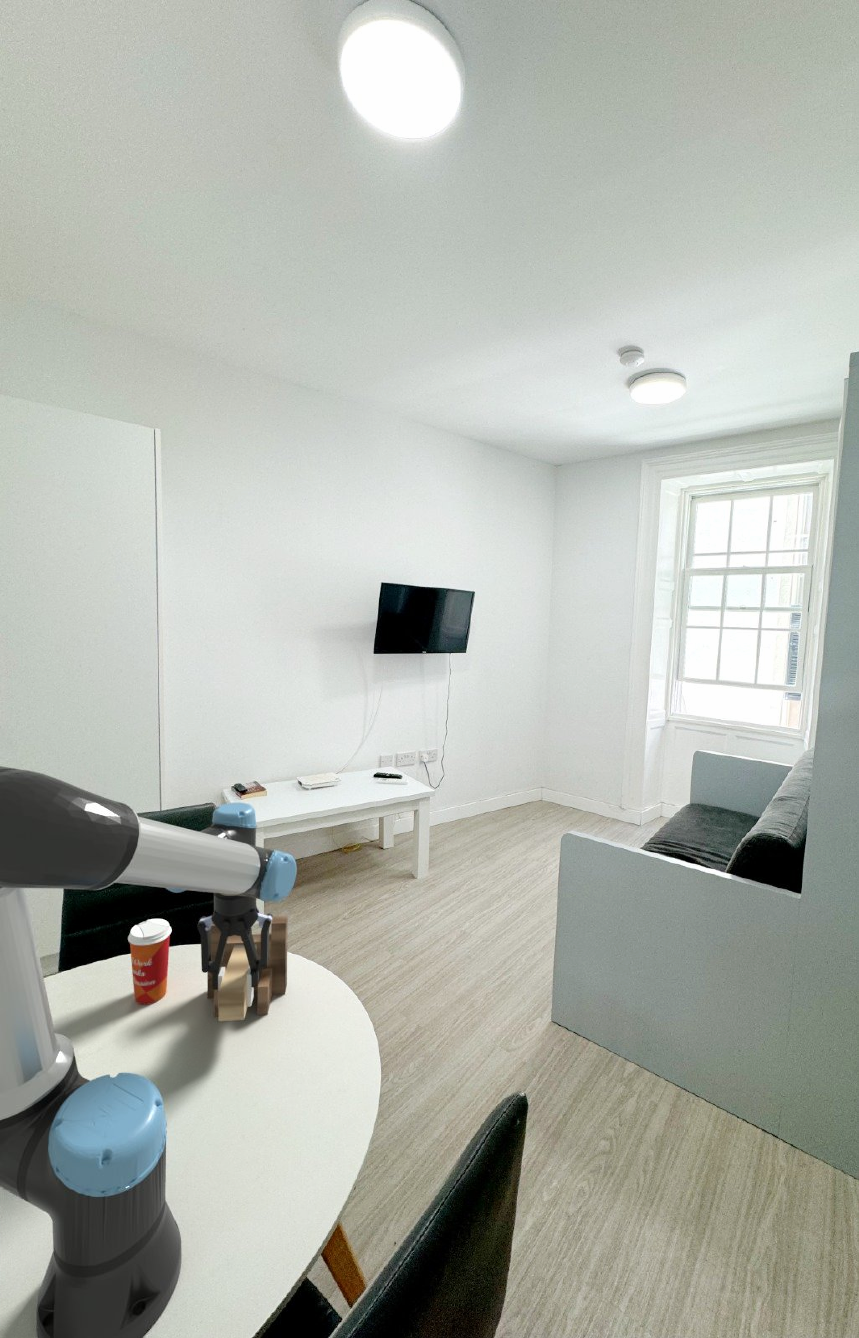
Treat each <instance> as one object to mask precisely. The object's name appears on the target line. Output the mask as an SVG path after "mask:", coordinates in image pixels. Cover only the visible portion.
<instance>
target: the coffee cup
mask: <svg viewBox="0 0 859 1338" xmlns="http://www.w3.org/2000/svg"><path fill="white" fill-rule="evenodd" d="M172 931H173V930H172V926H170V923H169V921H167V920H165V919H163V918H151V919H149V918H148V919H147V920H145V921H142V922H140V923H138V924H135V925H134V926H133V927H131V929H130V932H129V935H128V936H127V940H128V943H129V945H130V946H129V947H130V958H131V961H130V962H131V969H132V970H131V972H132V985H133V994H134V1000H135V1001H134V1002H135V1003H137V1004H140V1005H151V1004H154V1003H156V1002H157V1003H158V1001H161V1000H162V999H163V998H164V997H165V995H166V993H167V986H168V971H169V957H170V956H169V953H170V939H171V938H170V937H171V936H170V935H171V933H172Z"/></svg>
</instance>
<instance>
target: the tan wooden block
mask: <svg viewBox="0 0 859 1338" xmlns="http://www.w3.org/2000/svg"><path fill="white" fill-rule="evenodd" d="M255 947H256V951H257V945H255ZM248 969H249V962H248V959H247V955H246V951H245V947H244V945H237V946H234V948H233V951H232V954H231V957H230V959H229V962H228V965H227V968H226V971H225V974H224V976H223V979H222V982H221V985H220V988H219V990H218V1008H219V1017H218V1022H227V1021H228V1022H229V1021H244V1020H245V1018H246V1013H247V1010H248V1007H247V972H248Z"/></svg>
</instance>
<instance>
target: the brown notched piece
mask: <svg viewBox="0 0 859 1338" xmlns="http://www.w3.org/2000/svg"><path fill="white" fill-rule="evenodd" d="M272 916H273V917H272V921H271V924H270V926H271V929H270V932H271V933H269V960H268V964H267V968H266V969H260V970H259V982H258V985H257V987H254V997H255V996H257V1016H261V1015H262V1016H263V1015H268V1014H269V1010H270V1005H271V1001H272V997H273V996H274V995H276V996H277V995H285V994H286V990H287V986H288V915H272ZM220 935H221V932H220V930H219V929H218V928H217V927H216V926H215V924H214V923H212V927H211V957H212V962H214V961H215V957H216V953H217V948H218V944H219V939H220ZM252 936H253V939H254V943H255V945H257V955H258V958H259V959H261V933H259V934H257V933H256V934H253V933H252ZM237 945H244V944H243V942H242V940H241V936H236V935H233V936H229V937H228V940H227V944H226V948H225V952H224V956H223V960H222V965H221V967H225V971H226V968H227V965H228V962H229V959H230V957H231V954H232V951H233V948H234V946H237ZM206 973H207V974H206V975H207V999H213V1018H219V1008H218V990H214V989H213V981H212V974H211V973H210V972H206Z"/></svg>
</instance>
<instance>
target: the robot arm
mask: <svg viewBox="0 0 859 1338" xmlns="http://www.w3.org/2000/svg"><path fill="white" fill-rule="evenodd" d="M256 820H257V819H256V811H255V807H253V806H252V805H251V804H249V803H245V802H228V803H224V804H221V805H218V806H217V807H215V810H214V811H213V812H212V819H211V822H212V824H211V825H209V826H207V827H206V828H205V829H203V830H200V831H197V830H193V829H188V828H185V827H181V826H177V825H173V824H169V823H165V822H163V821H162V822H161V821H158V820H153V819H150V818H146V817H141V816H138V814H137V812H136V811H135V809H134V808H133V807H132V806H130V805H128V804H126V803H124V802H120V801H117V800H116V801H115V800H112V799H110V798H107V797H104V796H101V795H99V794H95V793H93V792H91V791H87V790H86V789H83V788H80V787H78V786H75V785H73V784H70V783H68V782H66V781H64V780H61V779H58V778H55V777H53V776H50V775H47V774H45V773H41V772H37V771H33V770H27V769H20V768H19V769H18V768H12V767H10V766H9V767H6V766H2V765H0V1188H2V1189H3V1190H5V1191H7V1192H8V1193H11V1194H13V1195H14V1196H16V1197H18V1198H20V1199H21V1200H23V1201H25V1202H27V1203H29V1204H31V1205H32V1206H33V1207H36V1208H38V1209H39V1210H42V1211H43V1212H45V1213H47V1215H48V1216H49V1217H50V1218H51V1219H50V1220H51V1221H52V1247H53V1248H52V1249H53V1250H52V1255H51V1256H50V1260H49V1262H48V1266H47V1268H46V1270H45V1271H46V1272H45V1275H44V1277H43V1280H42V1283H41V1285H40V1289H39V1291H38V1292H39V1293H38V1298H37V1304H36V1311H35V1313H36V1314H35V1315H36V1316H35V1317H36V1318H35V1319H36V1320H35V1321H36V1337H37V1338H140V1337H141V1336H142V1335H143V1334H144V1333H145V1334H146V1333H147V1332H148V1331H149V1330H148V1329H151V1328H152V1326H153V1325H154V1324H155V1322H156V1321H158V1319H159V1317H160V1316H161V1315H162V1313H163V1312H164V1310H165V1308H167V1305H168V1304H169V1302H170V1300H171V1298H172V1296H173V1295H174V1292H175V1289H176V1287H177V1285H178V1281H179V1278H180V1274H181V1270H182V1269H181V1268H182V1237H181V1236H182V1235H181V1233H180V1232H181V1231H180V1227H179V1226H178V1223H177V1221H176V1219H175V1217H174V1216H173V1212H172V1211H171V1208H170V1206H169V1205H168V1203H167V1200H166V1182H167V1181H166V1180H167V1179H166V1176H167V1175H166V1173H167V1171H166V1169H167V1167H166V1166H167V1127H168V1126H167V1125H168V1124H167V1117H166V1115H165V1108H164V1107H165V1106H164V1101H163V1096H162V1095H161V1092H160V1090H159V1089H158V1087H157V1086H156V1085H155V1084H154V1083H153V1081H151V1080H150V1079H148V1078H146V1077H145V1076H142V1075H141V1074H138V1073H132V1072H118V1073H117V1075H116V1076H114V1077H111V1074H104V1075H102V1076H99V1077H96V1078H93V1079H91V1080H90V1079H88V1078H86V1077H83V1076H82V1074H80V1072H79V1070H78V1069H79V1068H78V1064H77V1059H76V1055H75V1050H74V1046H73V1044H72V1041H71V1040H70V1038H68V1037H67V1036H65V1035H63V1034H61V1033H57V1032H55V1027H54V1022H53V1017H52V1012H51V1007H50V1003H49V998H48V993H47V988H46V983H45V979H44V974H43V969H42V964H41V960H40V954H39V950H38V946H37V945H38V944H37V940H36V936H35V932H34V931H35V930H34V925H33V921H32V915H31V911H30V906H29V902H28V896H27V893H26V889H61V890H62V889H63V890H64V889H65V890H66V889H67V890H85V891H86V890H87V891H98V890H99V891H100V890H103V889H105V888H108V887H109V886H111V885H113V884H114V883H115V884H117V883H118V884H124V885H125V884H128V885H137V886H147V887H156V888H165V889H166V890H168V891H170V892H172V893H174V894H175V893H176V894H177V893H183V892H185V891H193V892H195V891H196V892H202V893H206V892H207V893H213V913H212V915H210V916H207V917H206V916H205V915H203V916H201V917H200V918H199V921H198V923H197V926H196V928H197V931H198V932H199V935H200V954H201V955H200V957H201V958H200V959H201V960H200V962H201V972H202V973H207V972H210V973H211V974H212V981H213V989H214V990H219V988H220V985H221V982H222V979H223V976H224V974H225V967H221V965H222V960H223V956H224V952H225V948H226V944H227V940H228V937H229V936H233V935H236V936H241V940H242V942H243V944H244V947H245V951H246V955H247V959H248V962H249V969H248V972H247V1008H248V1007H251V1006H252V1004H253V1000H254V997H255V996H254V987H257V985H258V982H259V970H260V969H266V968H267V964H268V960H269V934H270V926H271V923H272V920H273V916H274V915H273V914H272V913H271V912H269V913H266V914H263V913H260V910H259V908H258V907H257V900H260V901H262V902H273V903H279V902H282V901H284V899H286V898H287V897H288V896H289V895H290V893H291V892H292V889H293V887H294V885H295V882H296V877H297V872H298V871H297V870H298V869H297V862H296V860H295V858H294V857H293V855H291V854H290V853H287V852H283V851H280V850H278V849H269V848H265V847H261V846H258V845H256V844H257V842H256V841H257V839H256V838H257V827H258V826H257V823H256ZM256 922H258V926H259V928H260V929H261V931H260V934H261V959H259V958H258V955H257V951H256V947H255V943H254V939H253V936H252V935H253V931H252V930H253V929H252V927H253V926H254V925H255V923H256ZM212 923H214V924H215V926H216V927H217V928H218V929H219V930H220V932H221V935H220V939H219V944H218V948H217V953H216V957H215V961H214V962H212V957H211V927H212ZM147 1330H148V1331H147ZM146 1331H147V1332H146ZM145 1334H144V1335H145ZM144 1335H143V1336H144ZM143 1336H142V1337H143ZM142 1337H141V1338H142Z"/></svg>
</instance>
